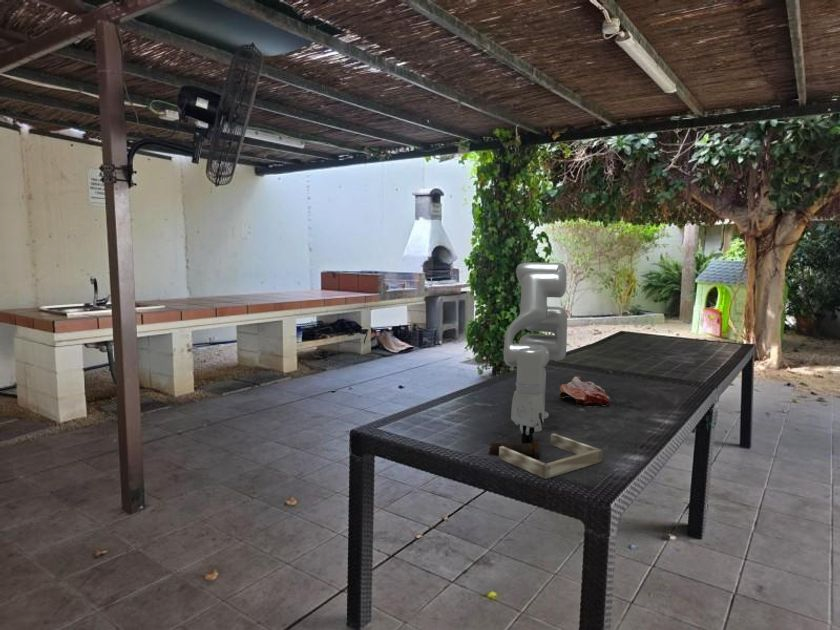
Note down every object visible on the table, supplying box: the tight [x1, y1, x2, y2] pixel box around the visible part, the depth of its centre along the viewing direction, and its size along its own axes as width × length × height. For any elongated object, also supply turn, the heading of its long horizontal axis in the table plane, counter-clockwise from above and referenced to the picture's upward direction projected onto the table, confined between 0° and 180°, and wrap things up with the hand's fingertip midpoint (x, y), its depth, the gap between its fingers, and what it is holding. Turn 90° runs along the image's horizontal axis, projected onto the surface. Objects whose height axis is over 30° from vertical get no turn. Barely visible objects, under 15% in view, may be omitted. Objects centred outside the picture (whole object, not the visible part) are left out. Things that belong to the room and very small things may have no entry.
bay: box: [498, 433, 603, 480], centre depth 159 cm, size 18×24×4 cm
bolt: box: [489, 438, 541, 459], centre depth 163 cm, size 6×5×15 cm
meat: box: [558, 376, 611, 407], centre depth 228 cm, size 21×21×10 cm
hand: (527, 445), depth 167 cm, fingers closed
